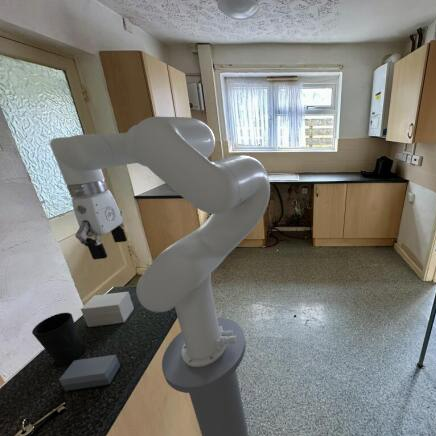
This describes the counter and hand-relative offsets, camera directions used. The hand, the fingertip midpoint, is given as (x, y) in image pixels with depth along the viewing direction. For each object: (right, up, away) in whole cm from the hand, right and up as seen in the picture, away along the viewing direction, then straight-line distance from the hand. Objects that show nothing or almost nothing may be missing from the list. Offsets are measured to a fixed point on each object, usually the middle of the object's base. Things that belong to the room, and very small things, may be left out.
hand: (111, 249), depth 65 cm
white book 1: (-11, -23, +13) cm, 28 cm away
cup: (-12, -30, +1) cm, 33 cm away
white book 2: (-11, -25, +14) cm, 31 cm away
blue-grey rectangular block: (0, -32, -5) cm, 32 cm away
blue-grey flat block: (-1, -30, -6) cm, 31 cm away
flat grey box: (-11, -20, +13) cm, 26 cm away
